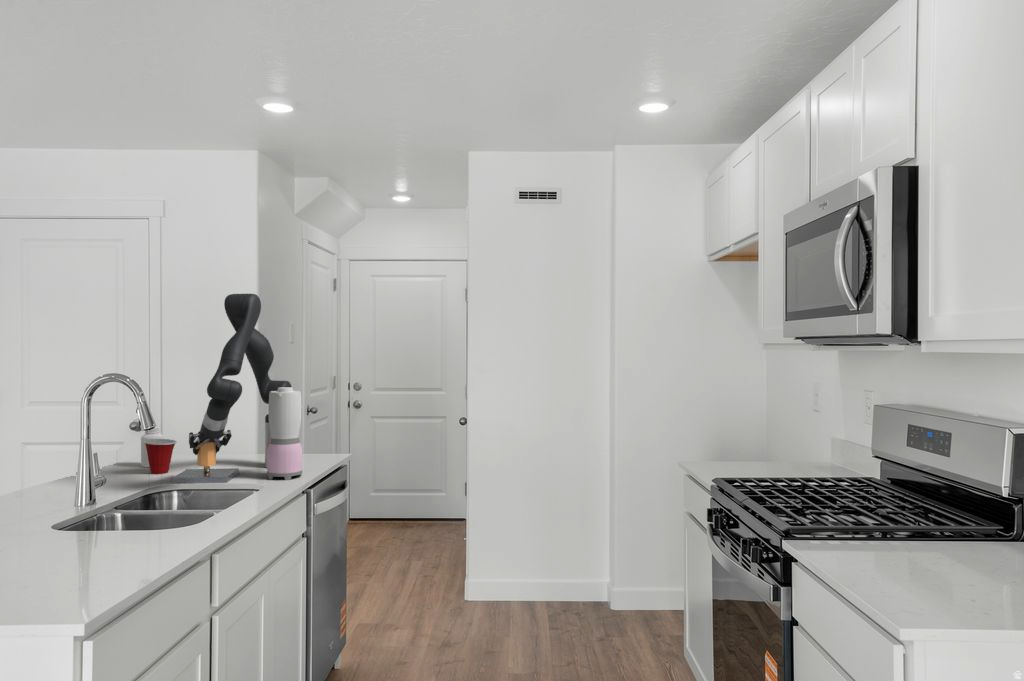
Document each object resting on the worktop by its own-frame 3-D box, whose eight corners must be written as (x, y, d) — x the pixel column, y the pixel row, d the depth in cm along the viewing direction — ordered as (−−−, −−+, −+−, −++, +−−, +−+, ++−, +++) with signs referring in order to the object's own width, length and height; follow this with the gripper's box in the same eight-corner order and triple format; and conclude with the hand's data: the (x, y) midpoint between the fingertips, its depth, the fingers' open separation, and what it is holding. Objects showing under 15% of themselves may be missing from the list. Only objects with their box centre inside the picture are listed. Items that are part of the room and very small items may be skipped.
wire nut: (200, 463, 254) (200, 435, 254) (217, 463, 255) (217, 435, 255) (195, 466, 249) (195, 437, 249) (212, 466, 249) (213, 437, 249)
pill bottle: (141, 464, 278) (141, 426, 278) (164, 463, 282) (164, 425, 281) (140, 468, 271) (140, 428, 271) (163, 466, 274) (163, 427, 274)
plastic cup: (167, 475, 257) (167, 442, 257) (137, 475, 257) (137, 442, 257) (182, 470, 268) (182, 438, 268) (153, 469, 268) (153, 437, 268)
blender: (294, 480, 249) (294, 389, 249) (260, 479, 250) (261, 388, 250) (311, 472, 265) (311, 386, 265) (279, 471, 266) (280, 385, 266)
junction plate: (187, 474, 259) (187, 458, 259) (238, 473, 261) (239, 457, 261) (172, 483, 243) (172, 466, 243) (227, 482, 245) (227, 465, 245)
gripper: (234, 412, 250) (224, 442, 260) (190, 414, 242) (181, 445, 251) (238, 428, 246) (228, 458, 256) (194, 431, 237) (185, 462, 247)
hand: (205, 452), depth 253 cm, fingers closed on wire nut, 6 cm apart
